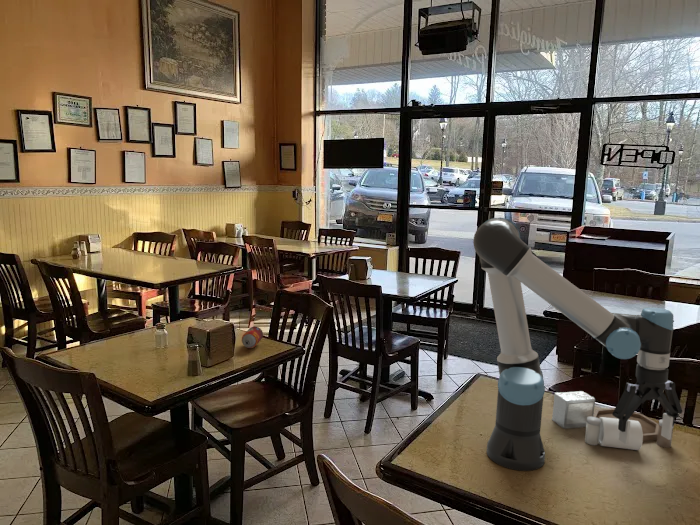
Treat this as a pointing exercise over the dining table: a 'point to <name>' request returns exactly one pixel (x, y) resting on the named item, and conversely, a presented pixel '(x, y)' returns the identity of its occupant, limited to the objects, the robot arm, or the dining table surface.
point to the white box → (572, 409)
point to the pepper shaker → (662, 440)
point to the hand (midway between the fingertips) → (644, 439)
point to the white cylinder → (611, 434)
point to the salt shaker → (592, 430)
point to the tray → (646, 423)
